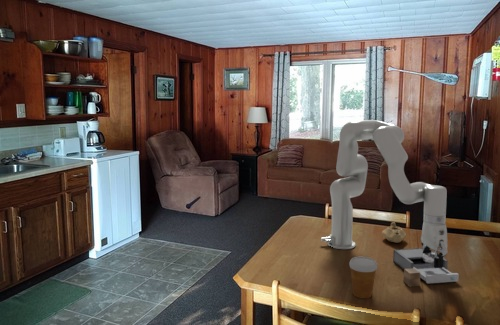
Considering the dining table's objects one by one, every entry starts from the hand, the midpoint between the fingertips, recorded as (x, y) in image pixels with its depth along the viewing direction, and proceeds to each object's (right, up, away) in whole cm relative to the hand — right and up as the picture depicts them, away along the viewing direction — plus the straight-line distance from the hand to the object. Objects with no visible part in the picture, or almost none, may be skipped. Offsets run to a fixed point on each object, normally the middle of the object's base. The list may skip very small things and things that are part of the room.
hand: (432, 263), depth 152 cm
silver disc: (0, +1, 0) cm, 1 cm away
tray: (0, -4, 0) cm, 4 cm away
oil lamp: (0, 0, +39) cm, 39 cm away
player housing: (-1, -4, +9) cm, 10 cm away
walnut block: (-10, -6, -6) cm, 13 cm away
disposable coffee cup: (-31, -7, -13) cm, 34 cm away
